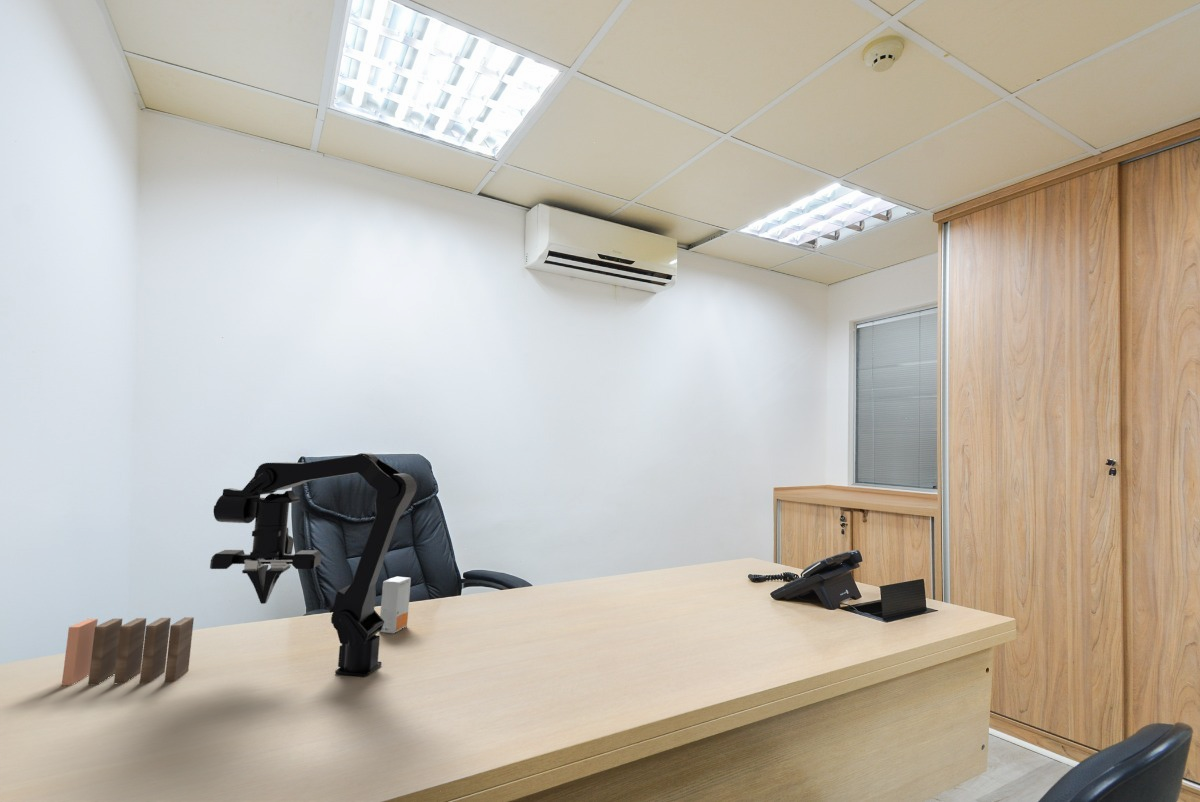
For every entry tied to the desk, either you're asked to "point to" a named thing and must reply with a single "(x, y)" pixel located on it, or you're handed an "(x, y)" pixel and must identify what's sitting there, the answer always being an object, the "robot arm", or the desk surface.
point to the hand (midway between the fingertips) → (263, 603)
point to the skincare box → (395, 603)
